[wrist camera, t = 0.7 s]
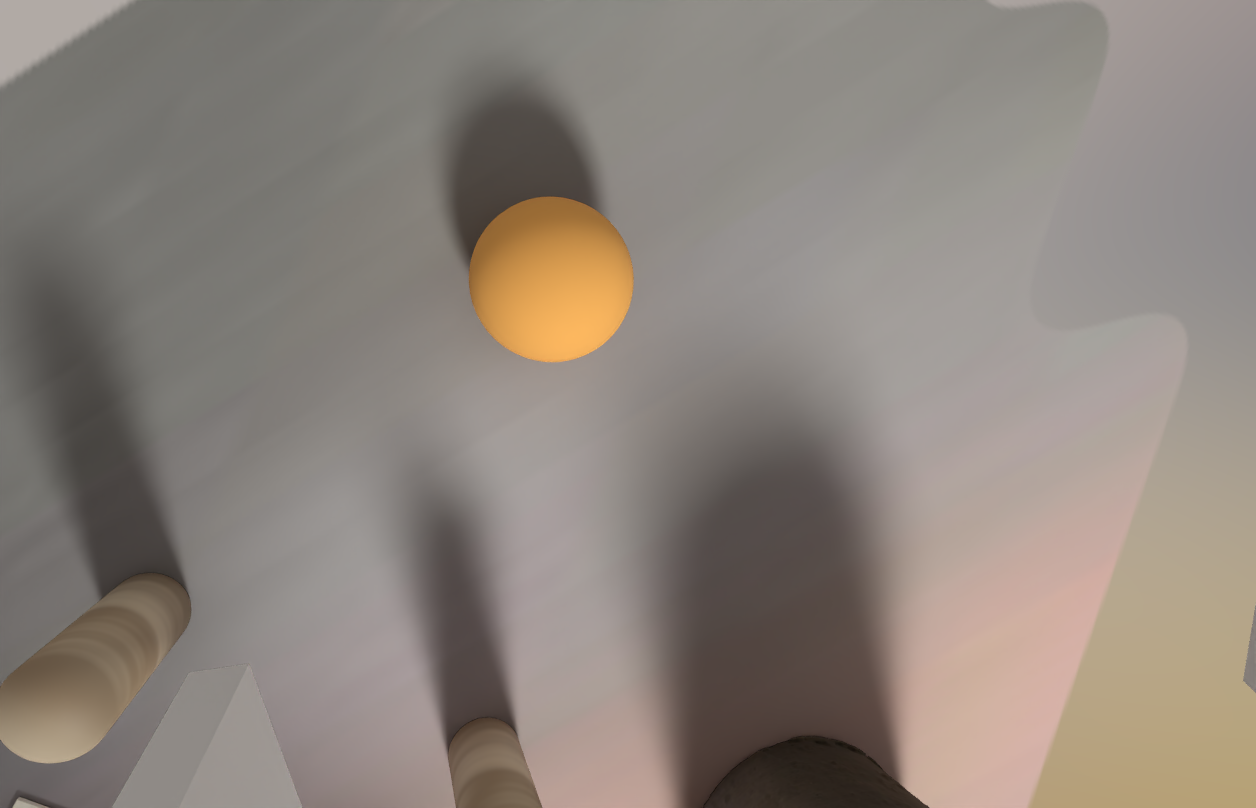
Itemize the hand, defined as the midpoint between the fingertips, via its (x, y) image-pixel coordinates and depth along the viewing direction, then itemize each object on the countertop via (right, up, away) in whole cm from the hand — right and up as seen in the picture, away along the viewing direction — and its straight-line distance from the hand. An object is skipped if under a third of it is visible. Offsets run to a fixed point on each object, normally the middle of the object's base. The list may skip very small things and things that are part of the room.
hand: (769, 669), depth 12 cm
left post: (-18, -3, +19) cm, 26 cm away
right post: (-7, -9, +22) cm, 25 cm away
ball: (-4, +8, +19) cm, 21 cm away
